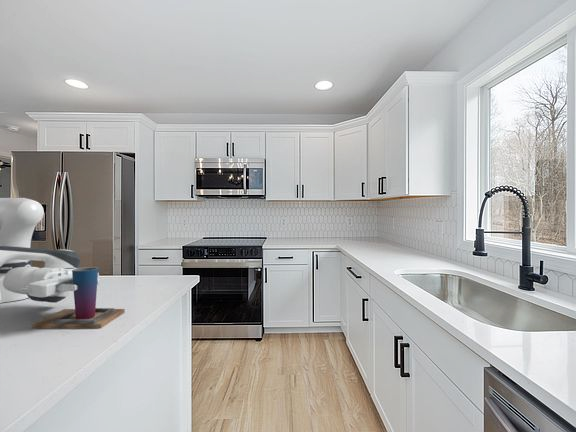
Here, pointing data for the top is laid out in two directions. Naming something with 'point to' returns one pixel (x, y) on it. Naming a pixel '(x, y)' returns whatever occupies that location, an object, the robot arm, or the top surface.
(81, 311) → the cup
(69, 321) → the board
